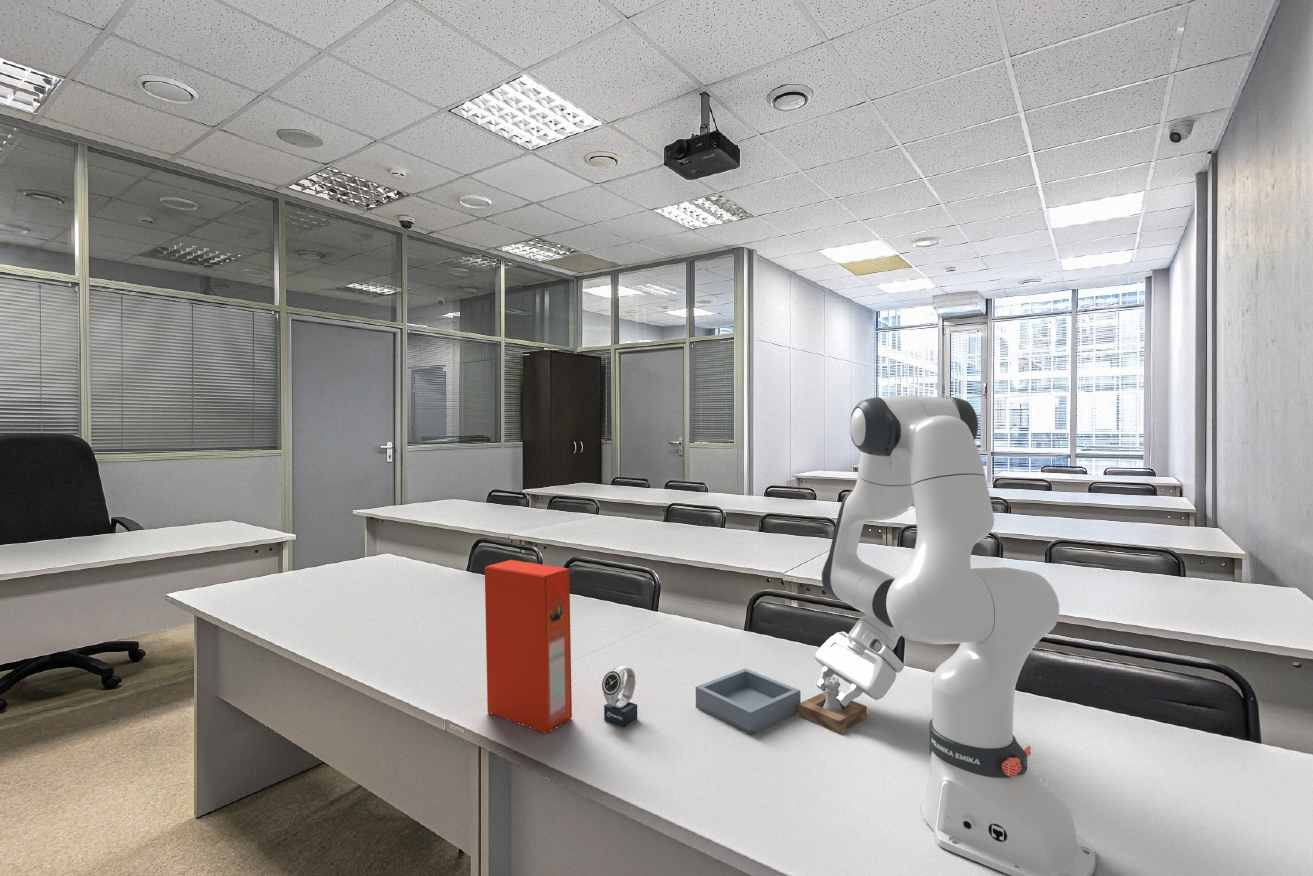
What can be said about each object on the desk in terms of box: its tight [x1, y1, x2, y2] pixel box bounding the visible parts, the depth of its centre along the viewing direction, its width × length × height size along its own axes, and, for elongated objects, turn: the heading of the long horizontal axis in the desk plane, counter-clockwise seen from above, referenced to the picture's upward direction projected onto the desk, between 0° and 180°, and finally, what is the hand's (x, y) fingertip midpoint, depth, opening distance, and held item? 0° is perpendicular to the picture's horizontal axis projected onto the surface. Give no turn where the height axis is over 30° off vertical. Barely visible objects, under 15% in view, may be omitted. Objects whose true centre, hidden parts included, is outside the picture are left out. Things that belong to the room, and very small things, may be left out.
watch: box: [601, 664, 638, 728], centre depth 127 cm, size 6×8×11 cm
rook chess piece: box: [823, 676, 843, 713], centre depth 128 cm, size 4×4×8 cm
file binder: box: [484, 559, 573, 734], centre depth 129 cm, size 8×17×32 cm, turn 57°
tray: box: [695, 668, 802, 736], centre depth 131 cm, size 16×16×4 cm
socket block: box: [798, 690, 868, 734], centre depth 128 cm, size 10×10×2 cm
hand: (829, 695), depth 127 cm, fingers open, 6 cm apart
